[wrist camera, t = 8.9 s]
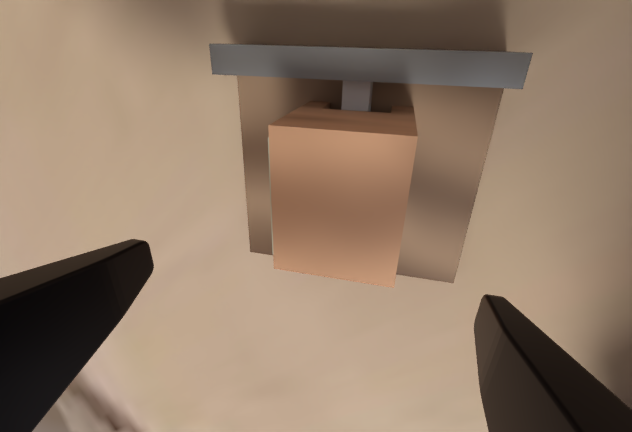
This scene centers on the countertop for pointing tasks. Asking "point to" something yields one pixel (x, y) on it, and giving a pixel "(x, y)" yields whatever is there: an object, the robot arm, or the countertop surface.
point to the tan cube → (340, 190)
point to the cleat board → (379, 96)
